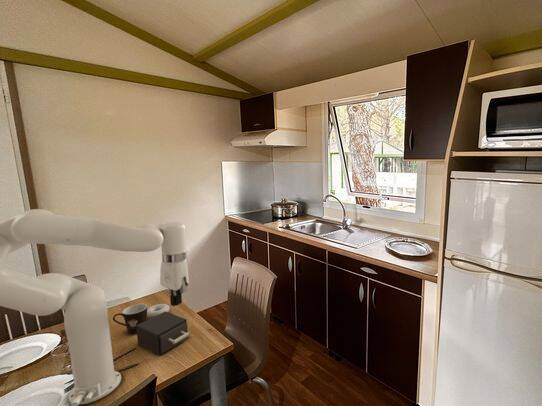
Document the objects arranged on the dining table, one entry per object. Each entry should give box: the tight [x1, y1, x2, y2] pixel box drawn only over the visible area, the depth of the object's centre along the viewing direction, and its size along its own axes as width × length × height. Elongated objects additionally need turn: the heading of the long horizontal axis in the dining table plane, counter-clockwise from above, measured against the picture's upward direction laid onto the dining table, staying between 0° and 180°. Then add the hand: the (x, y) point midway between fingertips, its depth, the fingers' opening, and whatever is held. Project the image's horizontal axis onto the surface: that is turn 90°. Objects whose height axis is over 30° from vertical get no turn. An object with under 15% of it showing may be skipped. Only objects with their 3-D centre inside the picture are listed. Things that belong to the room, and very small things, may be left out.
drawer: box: [159, 321, 190, 354], centre depth 110 cm, size 17×10×7 cm, turn 65°
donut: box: [147, 303, 170, 320], centre depth 131 cm, size 10×4×10 cm
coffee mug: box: [112, 303, 148, 336], centre depth 118 cm, size 12×9×10 cm
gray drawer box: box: [136, 311, 188, 356], centre depth 111 cm, size 14×12×9 cm
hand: (176, 304), depth 101 cm, fingers closed
